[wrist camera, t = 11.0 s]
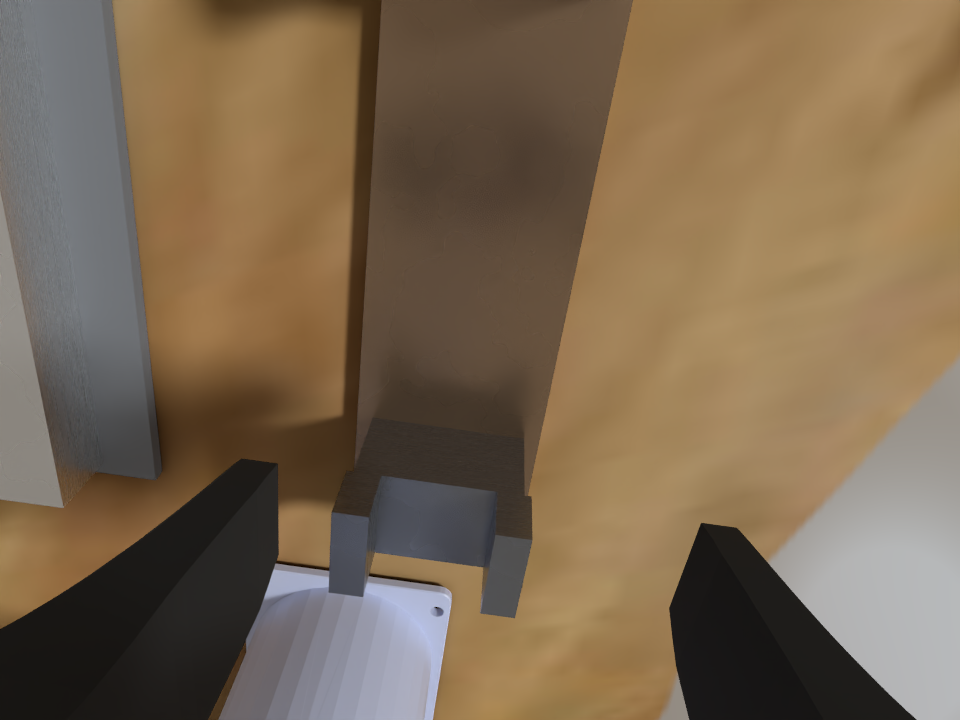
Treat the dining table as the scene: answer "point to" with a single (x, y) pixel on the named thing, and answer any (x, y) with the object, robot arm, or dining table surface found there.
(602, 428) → the dining table surface
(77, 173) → the mat
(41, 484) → the rail
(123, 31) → the dining table surface
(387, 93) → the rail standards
